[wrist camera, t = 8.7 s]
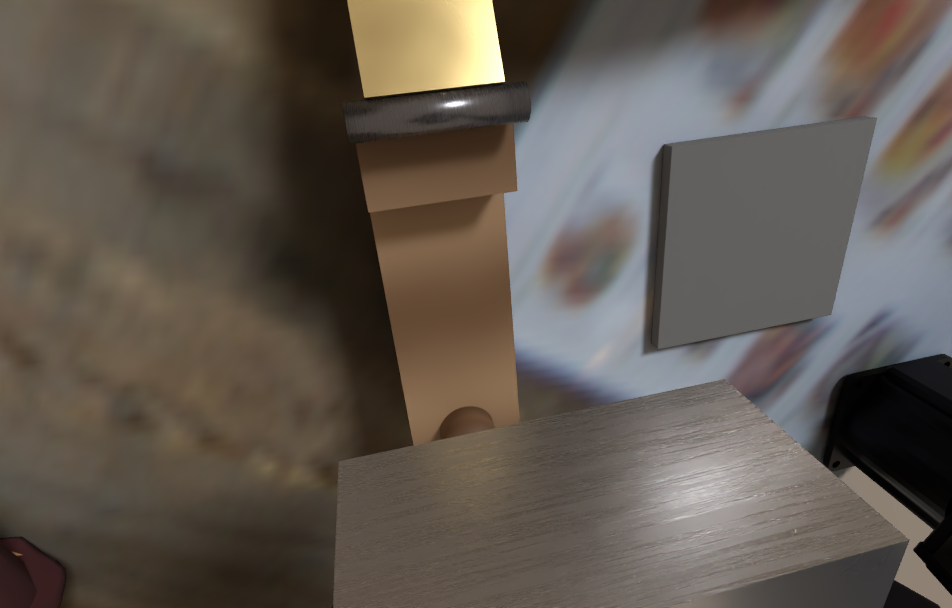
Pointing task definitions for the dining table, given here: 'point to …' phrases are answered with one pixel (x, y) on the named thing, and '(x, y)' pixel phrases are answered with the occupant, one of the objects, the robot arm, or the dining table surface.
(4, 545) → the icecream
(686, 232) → the mat
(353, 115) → the lever
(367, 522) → the square block
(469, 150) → the plane body
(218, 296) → the dining table surface
